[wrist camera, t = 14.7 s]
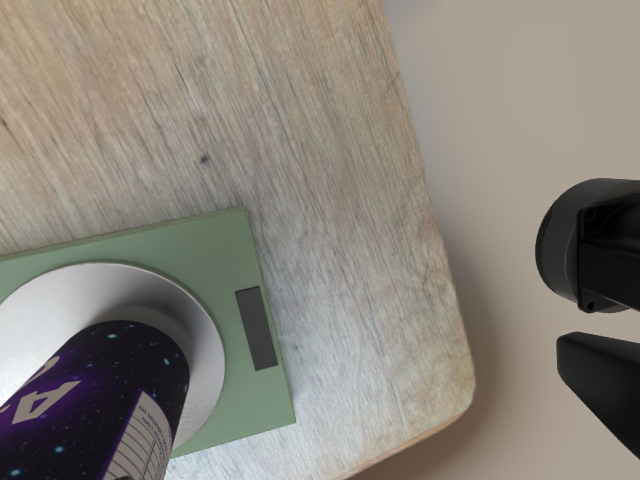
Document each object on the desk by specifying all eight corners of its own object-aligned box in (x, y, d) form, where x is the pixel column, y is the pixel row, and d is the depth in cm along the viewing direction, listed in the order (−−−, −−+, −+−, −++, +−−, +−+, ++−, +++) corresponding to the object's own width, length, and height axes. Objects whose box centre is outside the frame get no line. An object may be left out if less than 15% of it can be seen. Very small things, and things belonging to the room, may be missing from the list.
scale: (245, 204, 19) (244, 211, 17) (292, 400, 22) (297, 431, 20) (-51, 266, 17) (-102, 284, 15) (44, 470, 20) (14, 514, 18)
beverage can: (132, 286, 16) (-150, 593, 5) (218, 370, 18) (156, 752, 6) (32, 365, 16) (-493, 859, 5) (126, 442, 18) (-101, 954, 6)
